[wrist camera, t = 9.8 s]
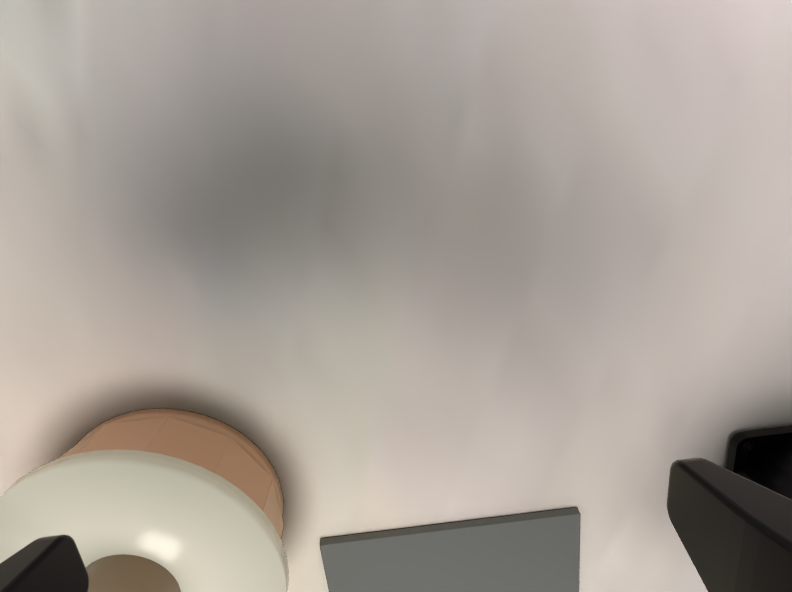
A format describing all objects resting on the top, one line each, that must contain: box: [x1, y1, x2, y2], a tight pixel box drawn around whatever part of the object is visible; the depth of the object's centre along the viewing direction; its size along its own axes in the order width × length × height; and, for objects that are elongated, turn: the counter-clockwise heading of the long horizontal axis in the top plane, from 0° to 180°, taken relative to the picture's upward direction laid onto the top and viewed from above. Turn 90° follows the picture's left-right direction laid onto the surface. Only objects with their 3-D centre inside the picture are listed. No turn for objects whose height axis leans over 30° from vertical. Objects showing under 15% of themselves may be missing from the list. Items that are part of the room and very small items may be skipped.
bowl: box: [58, 409, 284, 539], centre depth 20 cm, size 10×10×4 cm
